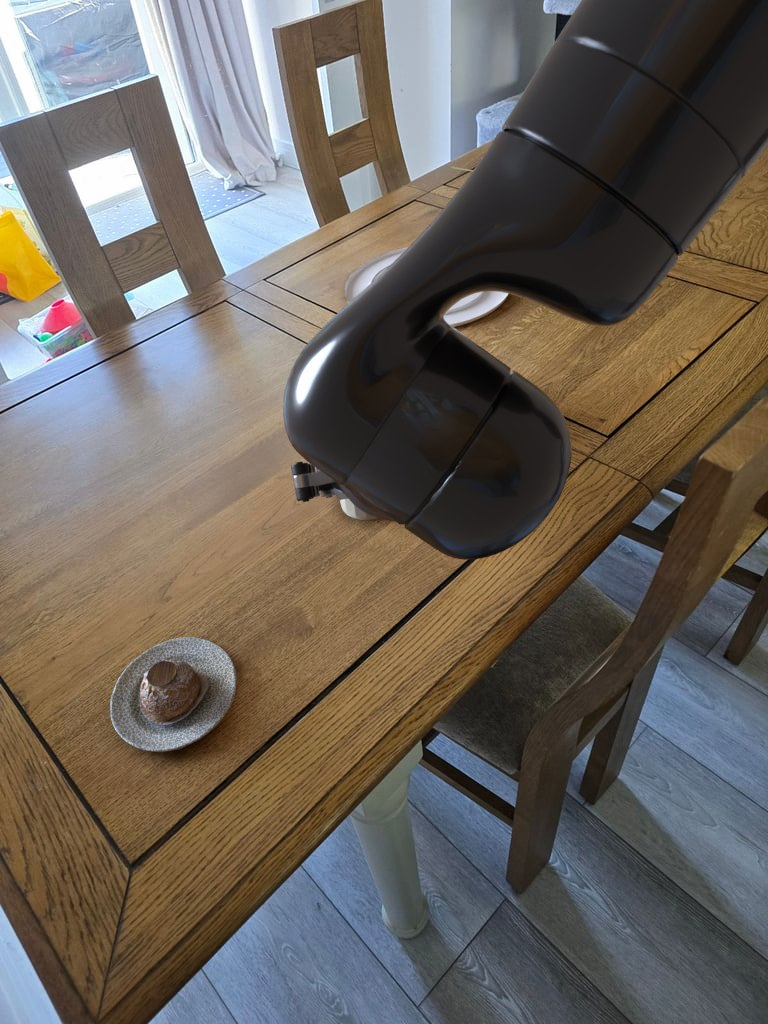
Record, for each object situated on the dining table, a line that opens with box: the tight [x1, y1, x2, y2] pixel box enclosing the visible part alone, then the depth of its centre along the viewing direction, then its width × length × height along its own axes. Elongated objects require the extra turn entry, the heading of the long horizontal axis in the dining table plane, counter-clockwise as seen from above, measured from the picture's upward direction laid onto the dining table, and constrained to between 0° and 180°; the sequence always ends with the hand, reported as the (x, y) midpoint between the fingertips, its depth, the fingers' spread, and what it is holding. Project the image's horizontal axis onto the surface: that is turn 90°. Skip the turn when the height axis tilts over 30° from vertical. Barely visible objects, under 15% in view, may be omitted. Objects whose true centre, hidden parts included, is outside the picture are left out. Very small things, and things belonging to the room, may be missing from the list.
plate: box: [344, 246, 510, 328], centre depth 117 cm, size 28×28×1 cm
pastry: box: [110, 636, 238, 753], centre depth 65 cm, size 12×12×5 cm
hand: (383, 472), depth 58 cm, fingers open, 8 cm apart
